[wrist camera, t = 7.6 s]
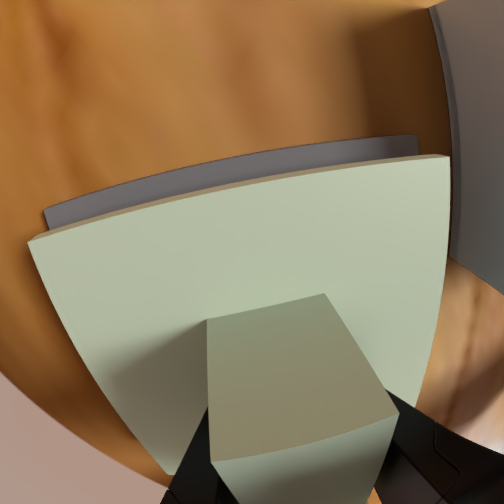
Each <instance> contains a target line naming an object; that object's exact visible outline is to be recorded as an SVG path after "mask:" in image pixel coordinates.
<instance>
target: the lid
mask: <svg viewBox="0 0 504 504" xmlns="http://www.w3.org/2000/svg"><path fill="white" fill-rule="evenodd" d="M449 217H450V157H448V156H444V155H439V154H429V155H418V156H407V157H398V158H388V159H380V160H371V161H363V162H356V163H348V164H341V165H334V166H327V167H320V168H314V169H308V170H302V171H295V172H290V173H284V174H278V175H272V176H267V177H262V178H256V179H251V180H246V181H241V182H236V183H231V184H226V185H221V186H216V187H212V188H207V189H203V190H198V191H194V192H189V193H185V194H181V195H176V196H172V197H168V198H164V199H160V200H156V201H152V202H148V203H144V204H140V205H136V206H132V207H128V208H125V209H121V210H117V211H114V212H110V213H106V214H103V215H99V216H96V217H92V218H89V219H86V220H82V221H79V222H76V223H72V224H69V225H66V226H63V227H59V228H56V229H53V230H50V231H47V232H44V233H41V234H38V235H37V236H35V237H34V238H32V239H31V240H30V241H29V242H27V243H28V246H29V248H30V251H31V254H32V256H33V259H34V261H35V264H36V266H37V269H38V271H39V274H40V276H41V278H42V281H43V283H44V285H45V288H46V290H47V292H48V294H49V297H50V299H51V301H52V303H53V305H54V307H55V309H56V311H57V313H58V315H59V317H60V319H61V321H62V323H63V325H64V327H65V329H66V331H67V333H68V335H69V337H70V338H71V340H72V342H73V344H74V346H75V347H76V349H77V351H78V353H79V354H80V356H81V358H82V360H83V361H84V363H85V365H86V366H87V368H88V370H89V371H90V373H91V374H92V376H93V378H94V379H95V381H96V382H97V384H98V385H99V387H100V388H101V390H102V391H103V393H104V394H105V396H106V397H107V399H108V400H109V402H110V403H111V405H112V406H113V408H114V409H115V410H116V412H117V413H118V415H119V416H120V417H121V419H122V420H123V421H124V423H125V424H126V425H127V427H128V428H129V429H130V431H131V432H132V433H133V434H134V436H135V437H136V438H137V439H138V441H139V442H140V443H141V444H142V446H143V447H144V448H145V449H146V450H147V452H148V453H149V454H150V455H151V456H152V458H153V459H154V460H155V461H156V462H157V463H158V464H159V466H160V467H161V468H162V469H163V470H164V471H165V472H166V473H167V474H168V475H175V473H176V471H177V469H178V467H179V465H180V463H181V461H182V459H183V457H184V454H185V452H186V450H187V448H188V446H189V444H190V442H191V440H192V438H193V436H194V434H195V432H196V430H197V427H198V425H199V423H200V421H201V419H202V417H203V415H204V413H205V411H206V408H207V406H208V413H209V437H210V456H211V463H212V465H213V466H214V468H215V469H216V471H217V472H218V474H219V475H220V477H221V478H222V480H223V481H224V482H225V484H226V485H227V487H228V488H229V490H230V491H231V492H232V494H233V495H234V497H235V498H236V499H237V501H238V502H239V504H366V503H367V501H368V498H369V496H370V494H371V492H372V489H373V487H374V484H375V482H376V480H377V477H378V475H379V472H380V469H381V467H382V464H383V461H384V459H385V456H386V453H387V450H388V447H389V445H390V442H391V439H392V436H393V432H394V429H395V426H396V423H397V420H398V416H399V412H398V410H397V408H396V406H395V405H394V403H393V401H392V400H391V398H390V396H389V395H388V393H387V391H386V390H385V389H387V390H388V391H390V392H391V393H393V394H394V395H396V396H397V397H399V398H400V399H402V400H403V401H405V402H406V403H408V404H410V405H411V406H413V407H414V408H415V405H416V402H417V399H418V396H419V393H420V389H421V386H422V383H423V379H424V376H425V372H426V368H427V364H428V360H429V356H430V352H431V348H432V344H433V339H434V335H435V330H436V325H437V320H438V314H439V309H440V303H441V297H442V290H443V283H444V276H445V267H446V258H447V248H448V235H449Z"/></svg>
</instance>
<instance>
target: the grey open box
mask: <svg viewBox="0 0 504 504" xmlns="http://www.w3.org/2000/svg"><path fill="white" fill-rule="evenodd" d="M428 8H429V11H430V15H431V19H432V22H433V26H434V30H435V34H436V38H437V43H438V47H439V52H440V57H441V62H442V67H443V73H444V78H445V85H446V92H447V99H448V107H449V116H450V127H451V140H452V160H453V208H452V228H451V242H450V253H449V257H450V258H452V259H453V260H455V261H456V262H458V263H459V264H461V265H462V266H464V267H465V268H467V269H468V270H470V271H471V272H472V273H474V274H475V275H477V276H478V277H480V278H481V279H482V280H484V281H485V282H486V283H488V284H489V285H491V286H492V287H493V288H495V289H496V290H497V291H499V292H500V293H501V294H503V295H504V0H447V1H444V2H441V3H439V4H436V5H433V6H431V7H428Z"/></svg>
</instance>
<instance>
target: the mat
mask: <svg viewBox="0 0 504 504" xmlns="http://www.w3.org/2000/svg"><path fill="white" fill-rule="evenodd" d="M418 155H419V148H418V135H411V134H409V135H393V136H380V137H368V138H357V139H348V140H339V141H330V142H322V143H314V144H307V145H300V146H293V147H286V148H280V149H274V150H268V151H262V152H256V153H251V154H245V155H240V156H235V157H230V158H225V159H220V160H215V161H210V162H205V163H201V164H196V165H192V166H188V167H183V168H179V169H175V170H171V171H167V172H163V173H159V174H155V175H151V176H147V177H143V178H140V179H136V180H132V181H129V182H125V183H122V184H118V185H115V186H111V187H108V188H105V189H101V190H98V191H95V192H92V193H89V194H85V195H82V196H79V197H76V198H73V199H70V200H67V201H64V202H61V203H58V204H56V205H53V206H50V207H48V208H46V209H44V210H43V211H44V214H45V217H46V220H47V223H48V226H49V229H50V230H53V229H56V228H59V227H63V226H66V225H69V224H72V223H76V222H79V221H82V220H86V219H89V218H92V217H96V216H99V215H103V214H106V213H110V212H114V211H117V210H121V209H125V208H128V207H132V206H136V205H140V204H144V203H148V202H152V201H156V200H160V199H164V198H168V197H172V196H176V195H181V194H185V193H189V192H194V191H198V190H203V189H207V188H212V187H216V186H221V185H226V184H231V183H236V182H241V181H246V180H251V179H256V178H262V177H267V176H272V175H278V174H284V173H290V172H295V171H302V170H308V169H314V168H320V167H327V166H334V165H341V164H348V163H356V162H363V161H371V160H380V159H388V158H398V157H407V156H418Z"/></svg>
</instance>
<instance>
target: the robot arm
mask: <svg viewBox="0 0 504 504" xmlns="http://www.w3.org/2000/svg"><path fill="white" fill-rule="evenodd" d="M385 390H386V391H387V393H388V395H389V396H390V398H391V400H392V401H393V403H394V405H395V406H396V408H397V410H398V412H399V416H398V420H397V423H396V426H395V429H394V432H393V436H392V439H391V442H390V445H389V447H388V450H387V453H386V456H385V459H384V461H383V464H382V467H381V469H380V472H379V475H378V477H377V480H376V482H375V484H374V488H375V490H376V492H377V494H378V496H379V498H380V500H381V503H382V504H504V455H503V454H500V453H498V452H496V451H493V450H491V449H488V448H486V447H484V446H481V445H479V444H477V443H474V442H472V441H470V440H468V439H466V438H464V437H462V436H460V435H458V434H456V433H455V432H453V431H451V430H449V429H448V428H446V427H444V426H443V425H441V424H440V423H438V422H435V420H433V419H431V418H430V417H428V416H427V415H425V414H424V413H422V412H420V411H419V410H417V409H416V408H414V407H413V406H411V405H410V404H408V403H406V402H405V401H403V400H402V399H400V398H399V397H397V396H396V395H394V394H393V393H391V392H390V391H388V390H387V389H385ZM168 489H169V490H167V491H166V493H165V495H164V497H163V499H162V501H161V503H160V504H239V502H238V501H237V499H236V498H235V497H234V495H233V494H232V492H231V491H230V490H229V488H228V487H227V485H226V484H225V482H224V481H223V480H222V478H221V477H220V475H219V474H218V472H217V471H216V469H215V468H214V466H213V465H212V463H211V456H210V437H209V413H208V406H207V408H206V411H205V413H204V415H203V417H202V419H201V421H200V423H199V425H198V427H197V430H196V432H195V434H194V436H193V438H192V440H191V442H190V444H189V446H188V448H187V450H186V452H185V454H184V457H183V459H182V461H181V463H180V465H179V467H178V469H177V471H176V473H175V475H174V477H173V479H172V481H171V483H170V485H169V487H168Z"/></svg>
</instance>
